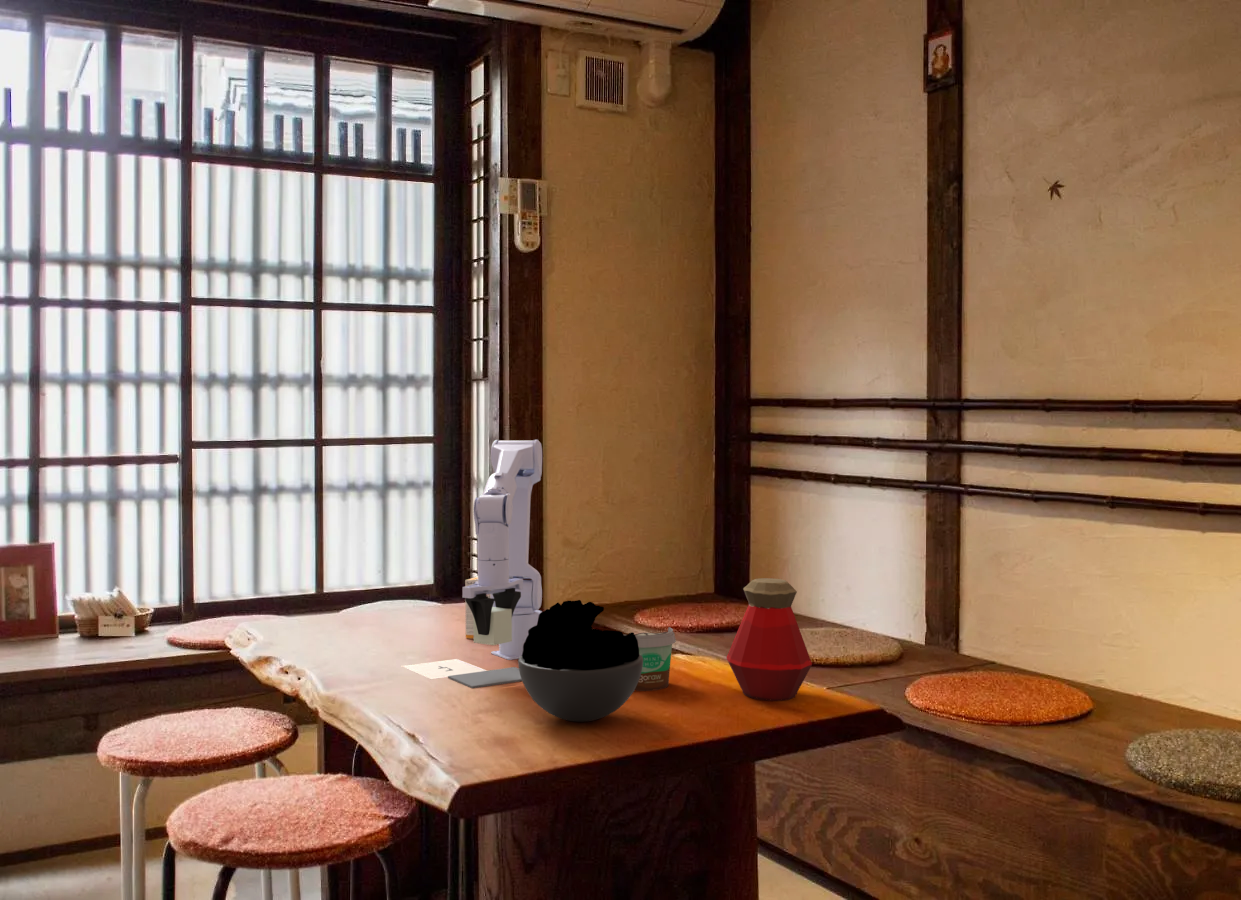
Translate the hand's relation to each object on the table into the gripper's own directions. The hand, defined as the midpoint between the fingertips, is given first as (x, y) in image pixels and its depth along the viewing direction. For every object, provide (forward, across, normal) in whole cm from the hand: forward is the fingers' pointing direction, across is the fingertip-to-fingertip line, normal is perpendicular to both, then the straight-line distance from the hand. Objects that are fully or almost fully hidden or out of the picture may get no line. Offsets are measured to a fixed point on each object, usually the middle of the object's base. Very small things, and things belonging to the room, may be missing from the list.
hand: (493, 632), depth 216 cm
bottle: (+9, -18, +48) cm, 52 cm away
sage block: (+2, 0, 0) cm, 2 cm away
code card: (+9, -1, -14) cm, 16 cm away
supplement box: (+9, -31, -32) cm, 46 cm away
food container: (+9, -11, +28) cm, 31 cm away
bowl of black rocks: (+9, +14, +31) cm, 35 cm away
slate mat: (+9, 0, 0) cm, 9 cm away
